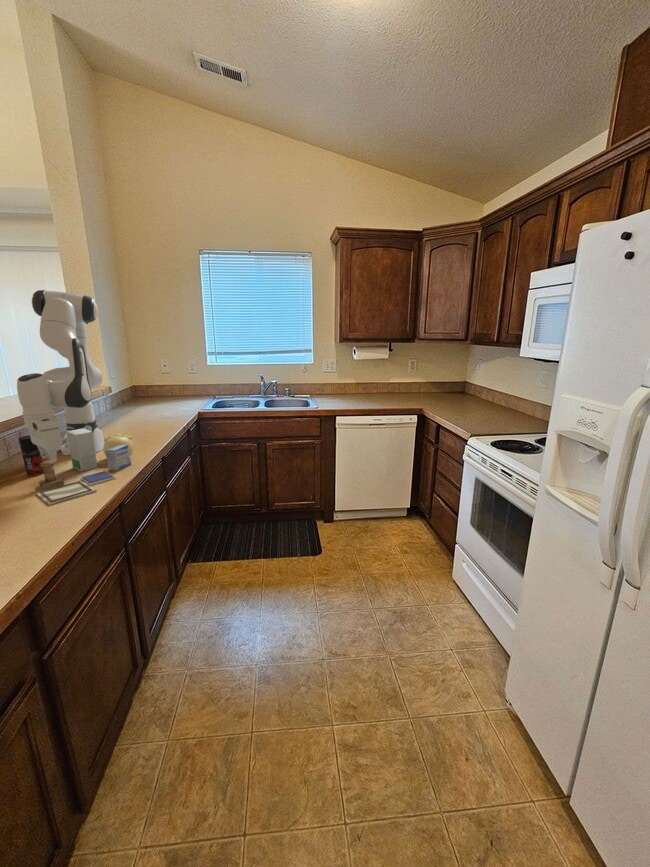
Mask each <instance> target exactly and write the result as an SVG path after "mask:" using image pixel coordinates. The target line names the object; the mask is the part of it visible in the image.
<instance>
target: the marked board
mask: <svg viewBox="0 0 650 867" xmlns="http://www.w3.org/2000/svg"><path fill="white" fill-rule="evenodd" d="M96 492H97V490H96V489H95V488H93V487H92V485H91V486H89V485H87V484H86V483H84V482H83V481H81V480H78V481H75V482H72V483H67V484H64V485H63V486H59V487H55V488H51V489H48V490H44V489H43V490H41V491H38V492H35V494H36V495H37V496H38V497H39V498H40V500H43V501H44V503H46V504H47V505H48V506H50V507H51V506H53V505H56V504H61V503H63V502H67V501H70V500H73V499H77V498H81V497H84V496H87V495H90V494H93V493H96Z"/></svg>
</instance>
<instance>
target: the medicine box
mask: <svg viewBox="0 0 650 867" xmlns="http://www.w3.org/2000/svg"><path fill="white" fill-rule="evenodd" d="M106 456H107V457H106ZM106 456H105V457H106V460H107V466H108V470H109V471H114V472H115V471H116V472H117V471H118V472H119V471H121V470H123V469H124V468H126V467H127V468H128V467H129V466H131V465H132V460H131V456H130V454H129V447H128V445H118V446H115V447H113V448H110V449H108V450H106Z"/></svg>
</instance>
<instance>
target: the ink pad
mask: <svg viewBox="0 0 650 867" xmlns="http://www.w3.org/2000/svg"><path fill="white" fill-rule="evenodd" d="M116 478H117V477H116V476H115V475H113V474H111V473H109V472H108V471H106V470H103V471H99V472H96V473H93V474H87V475H84V476H82V477H80V480H79V481H83V482H84V483H86V484H87V485H89V486H91V487H92V486H95V485H98V484H103V483H104V482H108V481H112V480H116Z"/></svg>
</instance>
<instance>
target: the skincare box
mask: <svg viewBox="0 0 650 867" xmlns="http://www.w3.org/2000/svg"><path fill="white" fill-rule="evenodd" d="M66 433H67V435H68V441H69V447H70V453H71V455H70V458H71V466H72V468H73V469H76V470H77V471H80V472H86V471H88V470H93V469H96V468H98V462H97V455H96V453H97V452H95V446H94V439H93V432H92V431H89V430H86V429H83V428H82V429H77V430H72V431H67V430H66Z"/></svg>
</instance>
